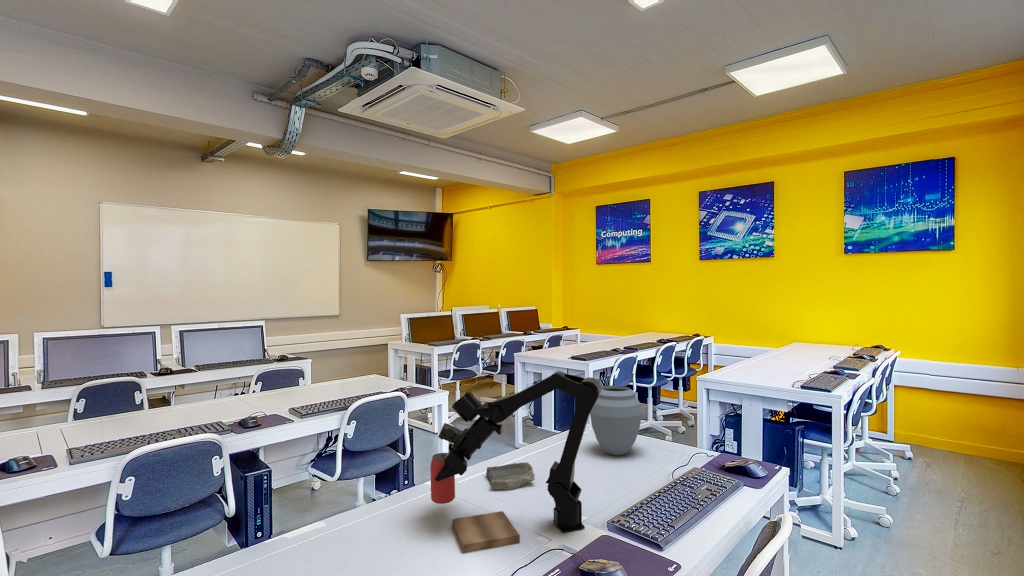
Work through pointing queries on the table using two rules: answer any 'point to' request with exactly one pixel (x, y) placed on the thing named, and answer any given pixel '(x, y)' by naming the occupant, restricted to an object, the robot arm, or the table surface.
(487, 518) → the walnut block
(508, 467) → the grey irregular stone
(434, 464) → the beer can
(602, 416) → the vase
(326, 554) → the table surface
